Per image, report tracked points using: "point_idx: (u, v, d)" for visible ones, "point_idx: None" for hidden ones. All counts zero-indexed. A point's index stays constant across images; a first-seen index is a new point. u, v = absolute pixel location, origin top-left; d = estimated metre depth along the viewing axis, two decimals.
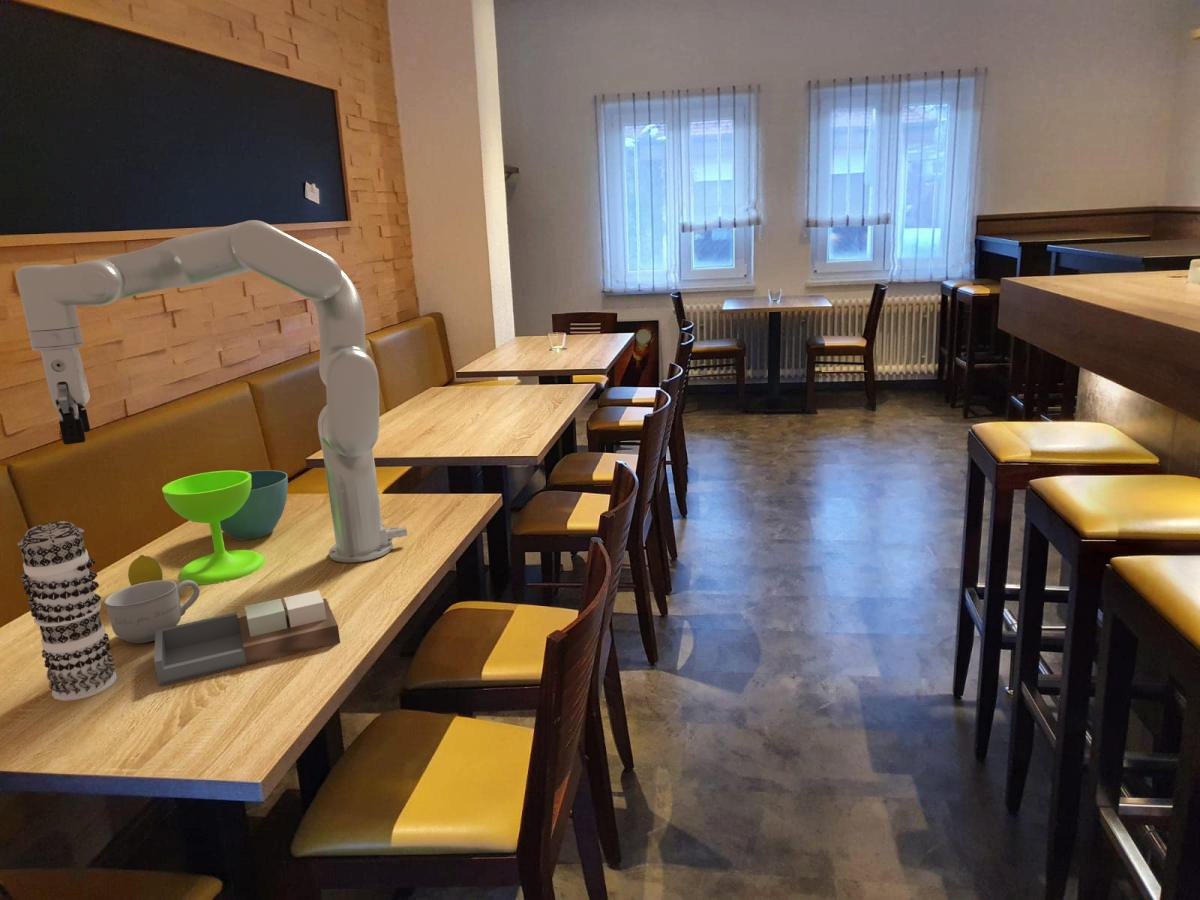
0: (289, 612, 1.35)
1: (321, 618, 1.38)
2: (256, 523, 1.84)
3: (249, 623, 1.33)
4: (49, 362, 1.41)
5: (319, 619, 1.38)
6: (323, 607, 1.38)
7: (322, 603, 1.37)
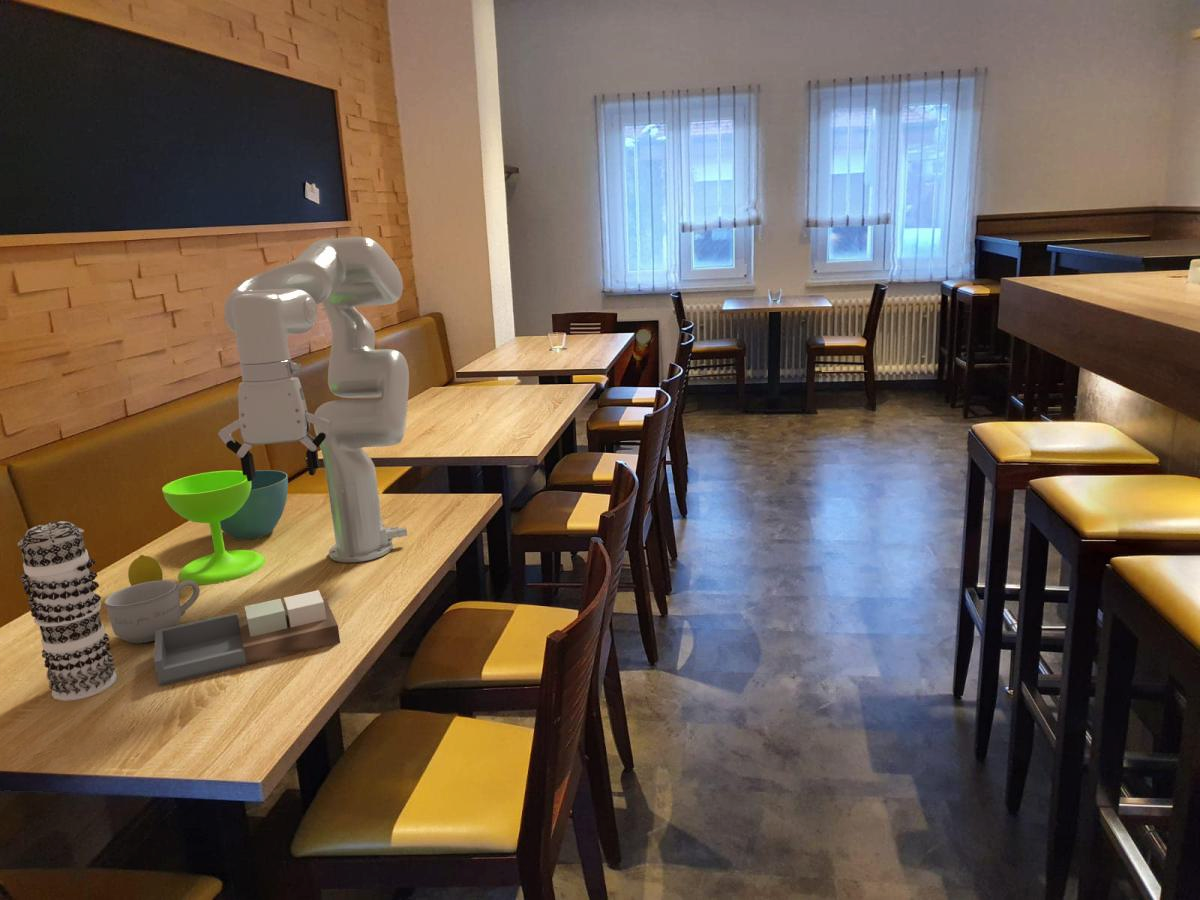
0: (289, 612, 1.35)
1: (321, 618, 1.38)
2: (256, 523, 1.84)
3: (249, 623, 1.33)
4: (298, 391, 1.37)
5: (319, 619, 1.38)
6: (323, 607, 1.38)
7: (322, 603, 1.37)
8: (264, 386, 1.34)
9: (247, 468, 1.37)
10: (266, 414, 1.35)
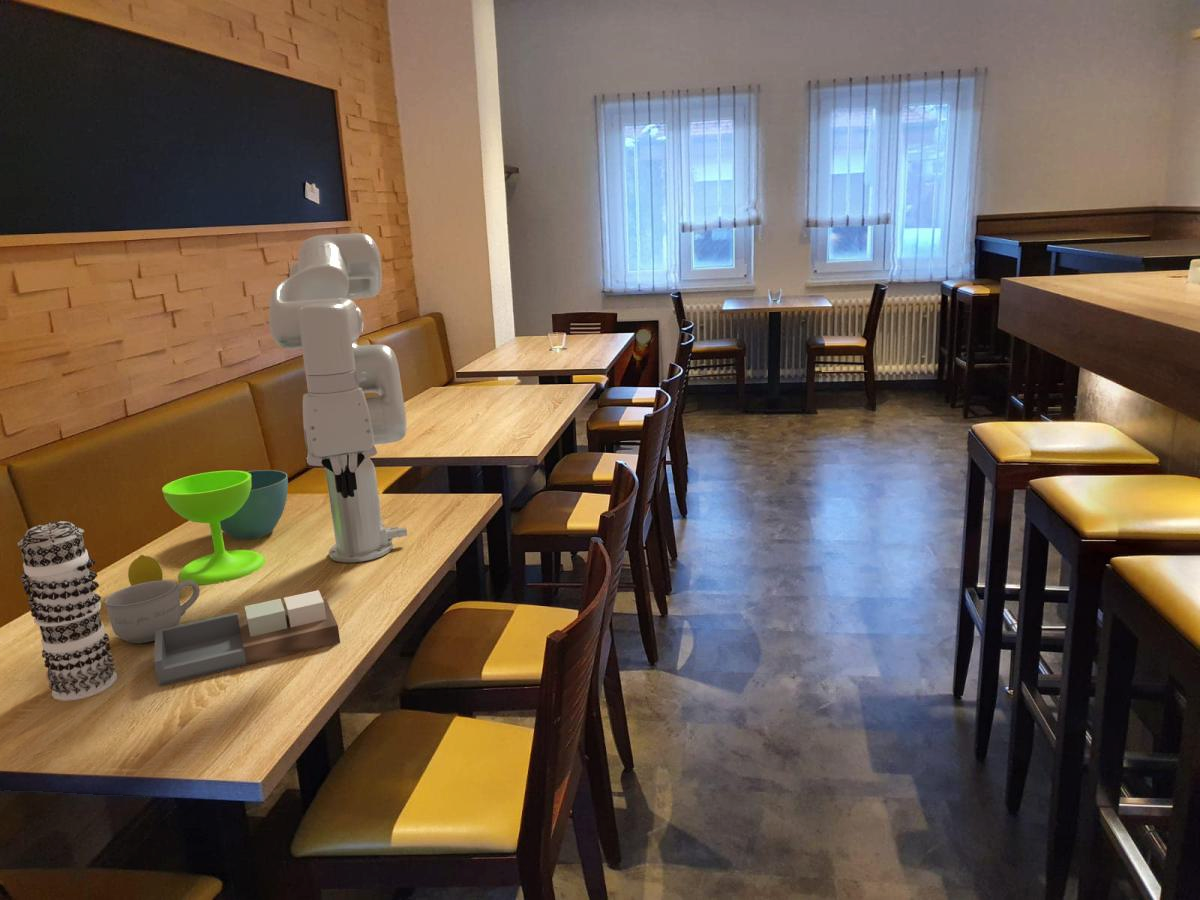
0: (289, 612, 1.35)
1: (321, 618, 1.38)
2: (256, 523, 1.84)
3: (249, 623, 1.33)
4: (366, 401, 1.36)
5: (319, 619, 1.38)
6: (323, 607, 1.38)
7: (322, 603, 1.37)
8: (335, 397, 1.32)
9: (344, 485, 1.36)
10: (337, 425, 1.33)
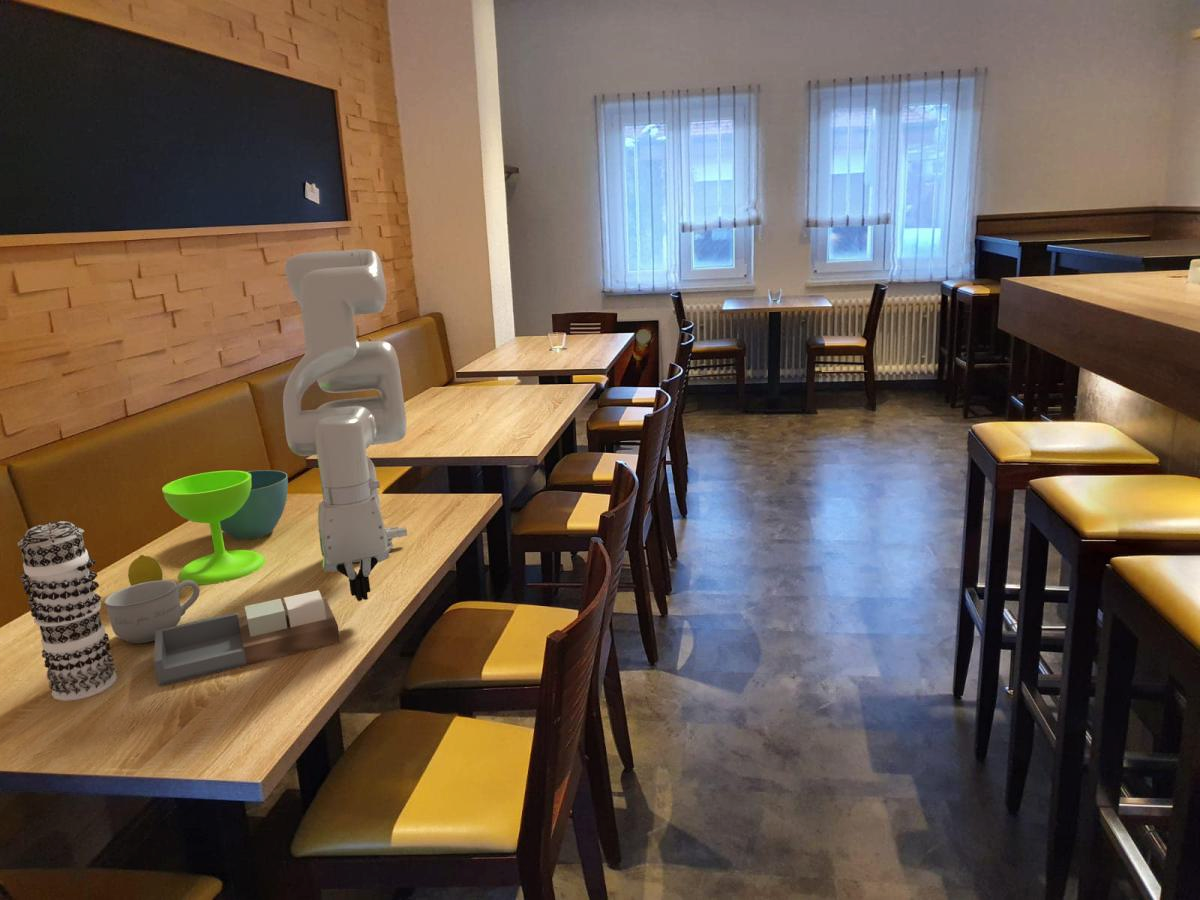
0: (289, 612, 1.35)
1: (321, 618, 1.38)
2: (256, 523, 1.84)
3: (249, 623, 1.33)
4: (379, 508, 1.40)
5: (319, 619, 1.38)
6: (323, 607, 1.38)
7: (322, 603, 1.37)
8: (350, 507, 1.36)
9: (358, 589, 1.41)
10: (351, 534, 1.38)
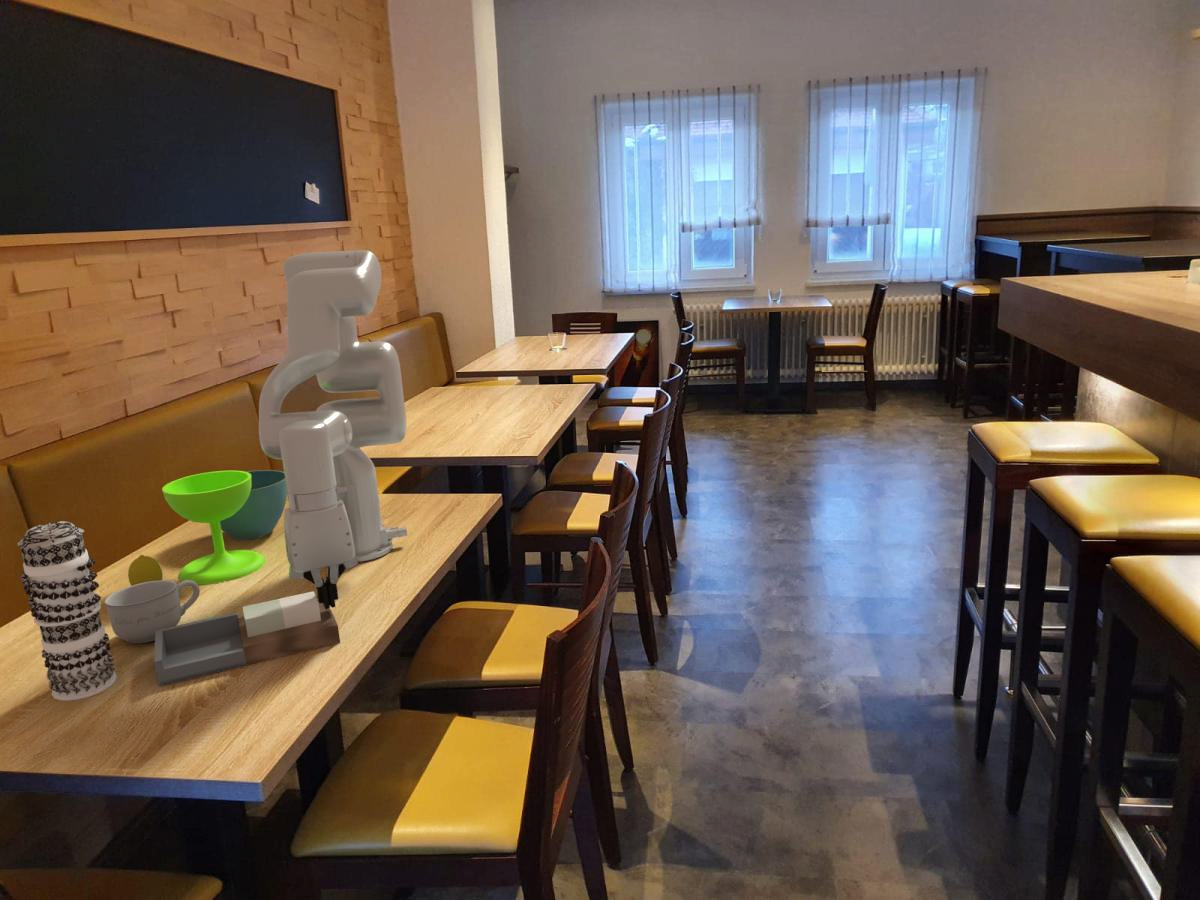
0: (283, 613, 1.35)
1: (316, 619, 1.38)
2: (256, 523, 1.84)
3: (247, 623, 1.33)
4: (346, 514, 1.38)
5: (314, 620, 1.37)
6: (318, 608, 1.37)
7: (317, 604, 1.37)
8: (316, 514, 1.34)
9: (326, 596, 1.39)
10: (318, 541, 1.35)
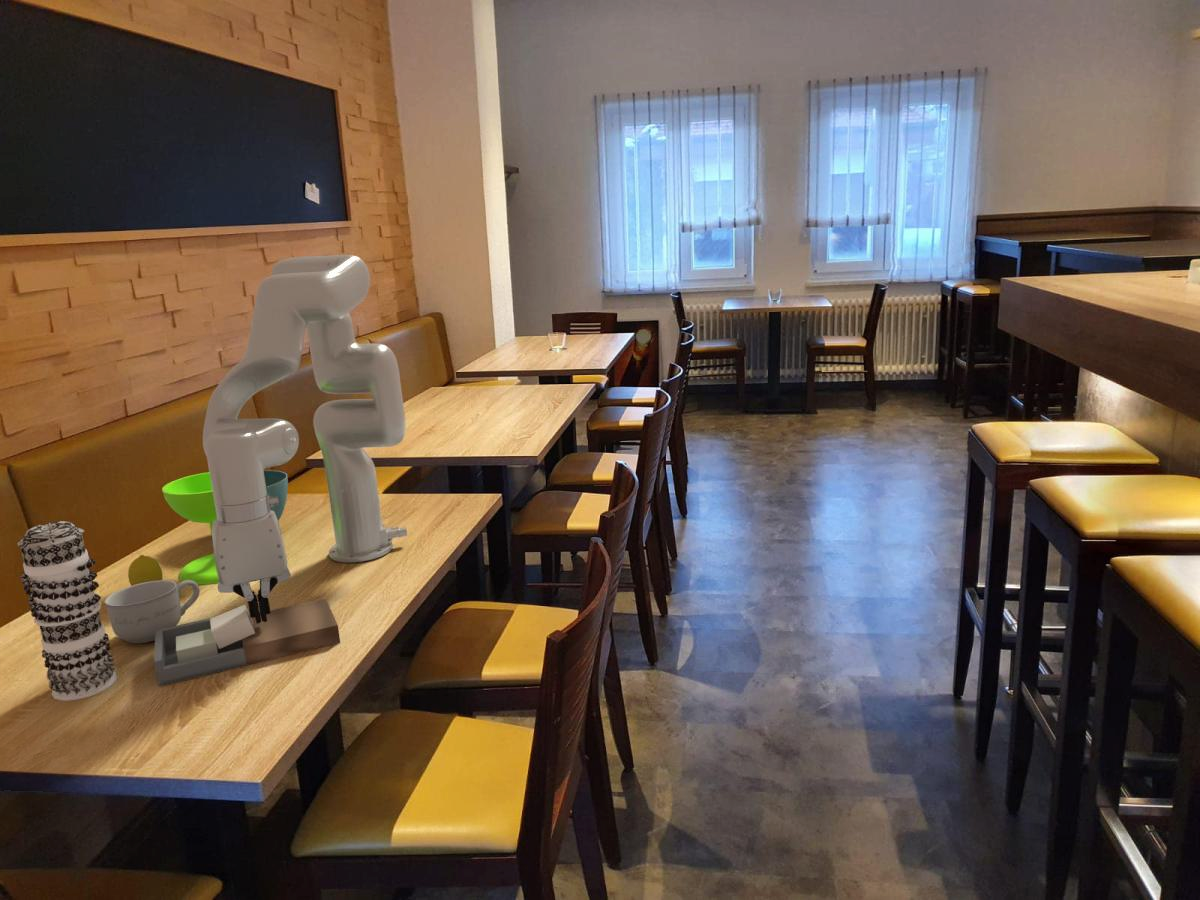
0: (213, 634, 1.31)
1: (249, 633, 1.33)
2: None
3: (178, 655, 1.29)
4: (278, 526, 1.33)
5: (247, 635, 1.33)
6: (248, 622, 1.33)
7: (246, 618, 1.33)
8: (245, 525, 1.30)
9: (256, 611, 1.34)
10: (247, 553, 1.31)
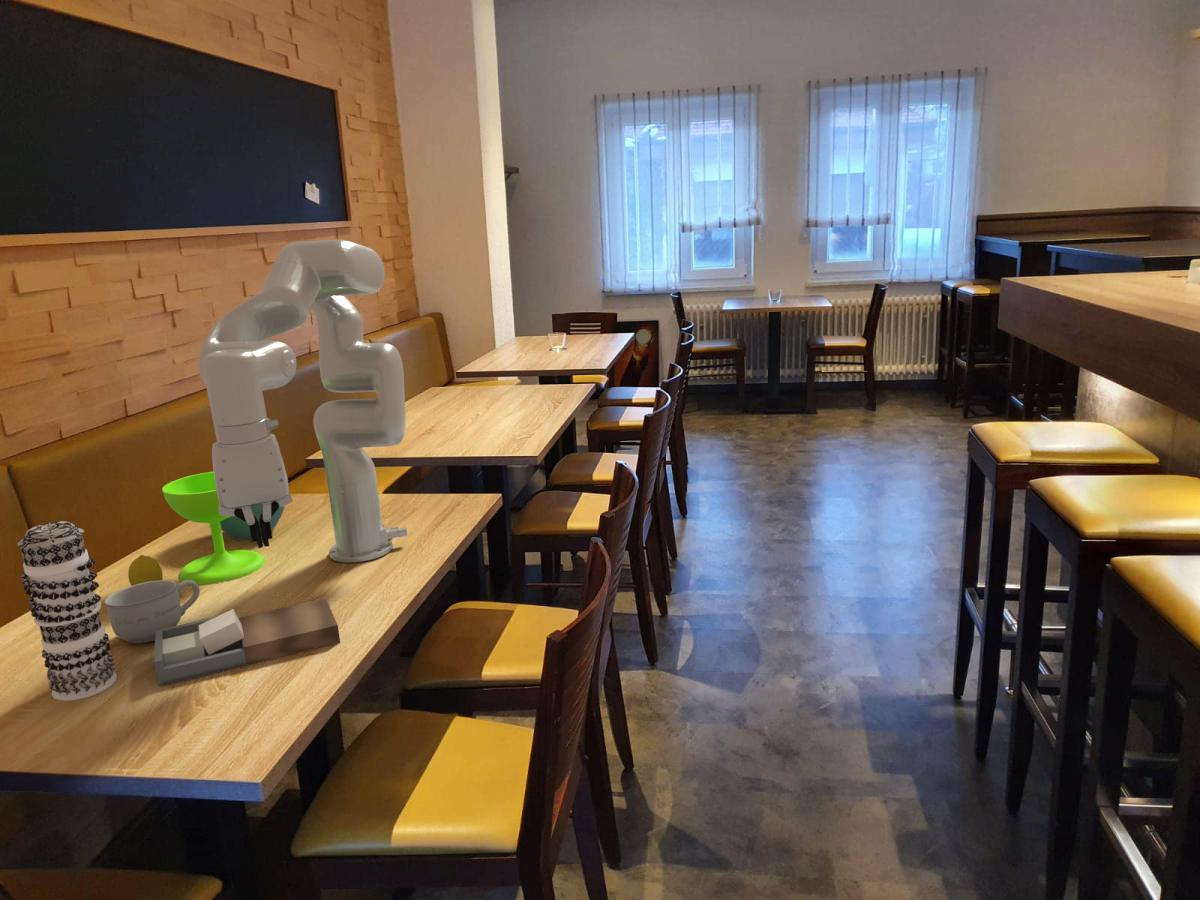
0: (202, 640, 1.30)
1: (238, 638, 1.33)
2: None
3: (165, 658, 1.28)
4: (278, 449, 1.31)
5: (236, 639, 1.33)
6: (237, 627, 1.32)
7: (234, 623, 1.32)
8: (245, 447, 1.28)
9: (258, 535, 1.33)
10: (247, 476, 1.29)
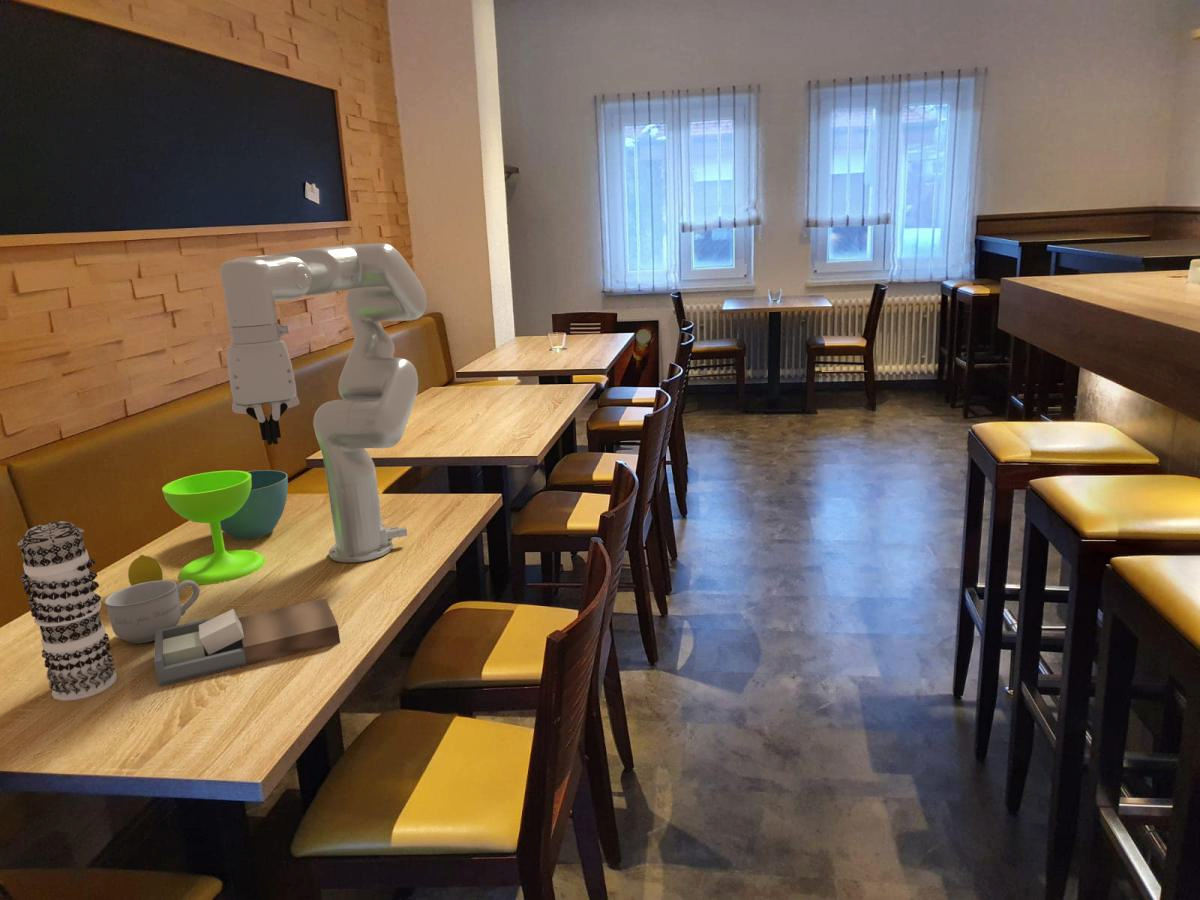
0: (202, 640, 1.30)
1: (238, 638, 1.33)
2: (256, 523, 1.84)
3: (165, 658, 1.28)
4: (288, 353, 1.44)
5: (236, 639, 1.33)
6: (237, 627, 1.32)
7: (234, 623, 1.32)
8: (257, 348, 1.40)
9: (268, 432, 1.44)
10: (259, 375, 1.41)
